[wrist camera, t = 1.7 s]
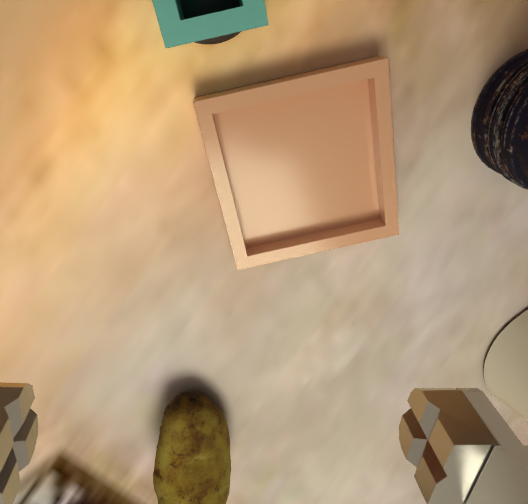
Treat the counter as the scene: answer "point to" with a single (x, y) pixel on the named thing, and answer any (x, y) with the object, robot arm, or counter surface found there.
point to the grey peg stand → (201, 3)
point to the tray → (303, 161)
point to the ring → (207, 21)
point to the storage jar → (504, 121)
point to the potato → (192, 453)
